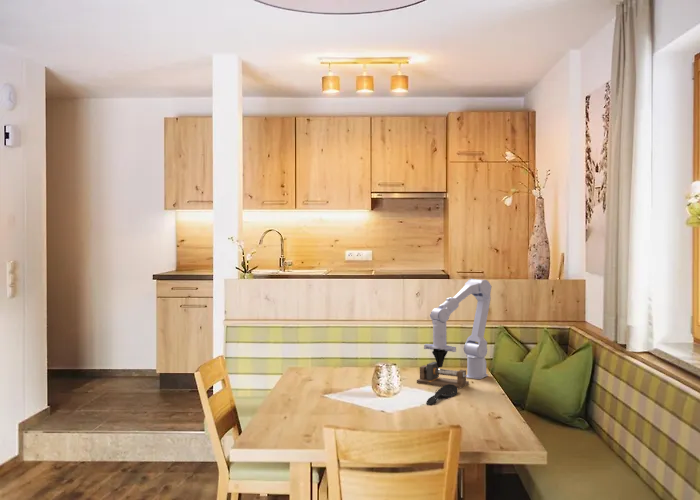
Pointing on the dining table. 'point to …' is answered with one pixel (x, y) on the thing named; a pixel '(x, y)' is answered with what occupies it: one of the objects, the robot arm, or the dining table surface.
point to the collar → (430, 371)
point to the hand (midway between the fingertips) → (440, 366)
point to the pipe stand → (442, 381)
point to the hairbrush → (447, 392)
